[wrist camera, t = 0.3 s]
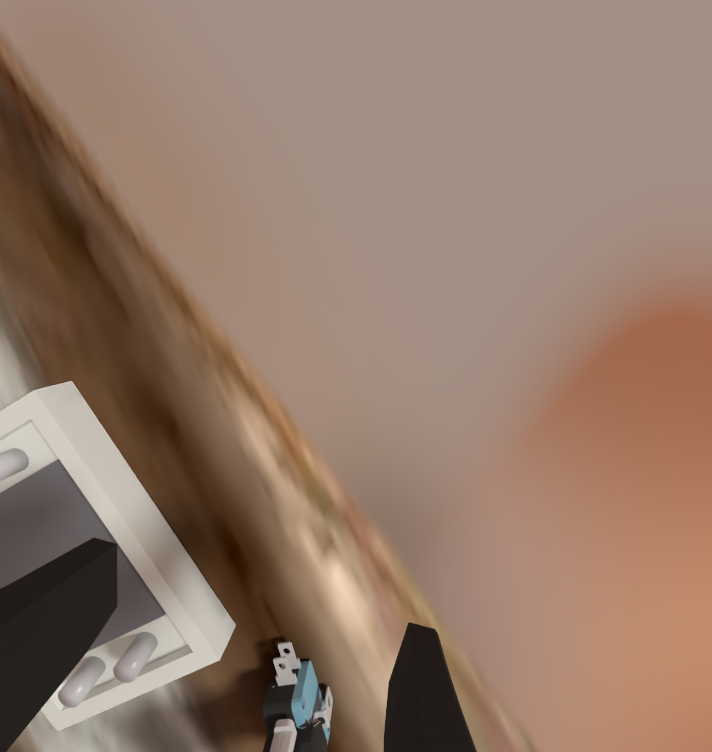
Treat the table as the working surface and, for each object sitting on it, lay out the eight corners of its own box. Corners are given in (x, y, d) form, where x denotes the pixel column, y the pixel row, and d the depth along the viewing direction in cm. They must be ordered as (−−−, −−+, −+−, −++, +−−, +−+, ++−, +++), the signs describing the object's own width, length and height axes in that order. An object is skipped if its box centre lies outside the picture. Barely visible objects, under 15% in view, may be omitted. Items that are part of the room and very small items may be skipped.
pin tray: (87, 692, 24) (40, 754, 21) (-78, 473, 22) (-159, 503, 19) (235, 625, 22) (210, 680, 19) (71, 380, 20) (11, 395, 17)
